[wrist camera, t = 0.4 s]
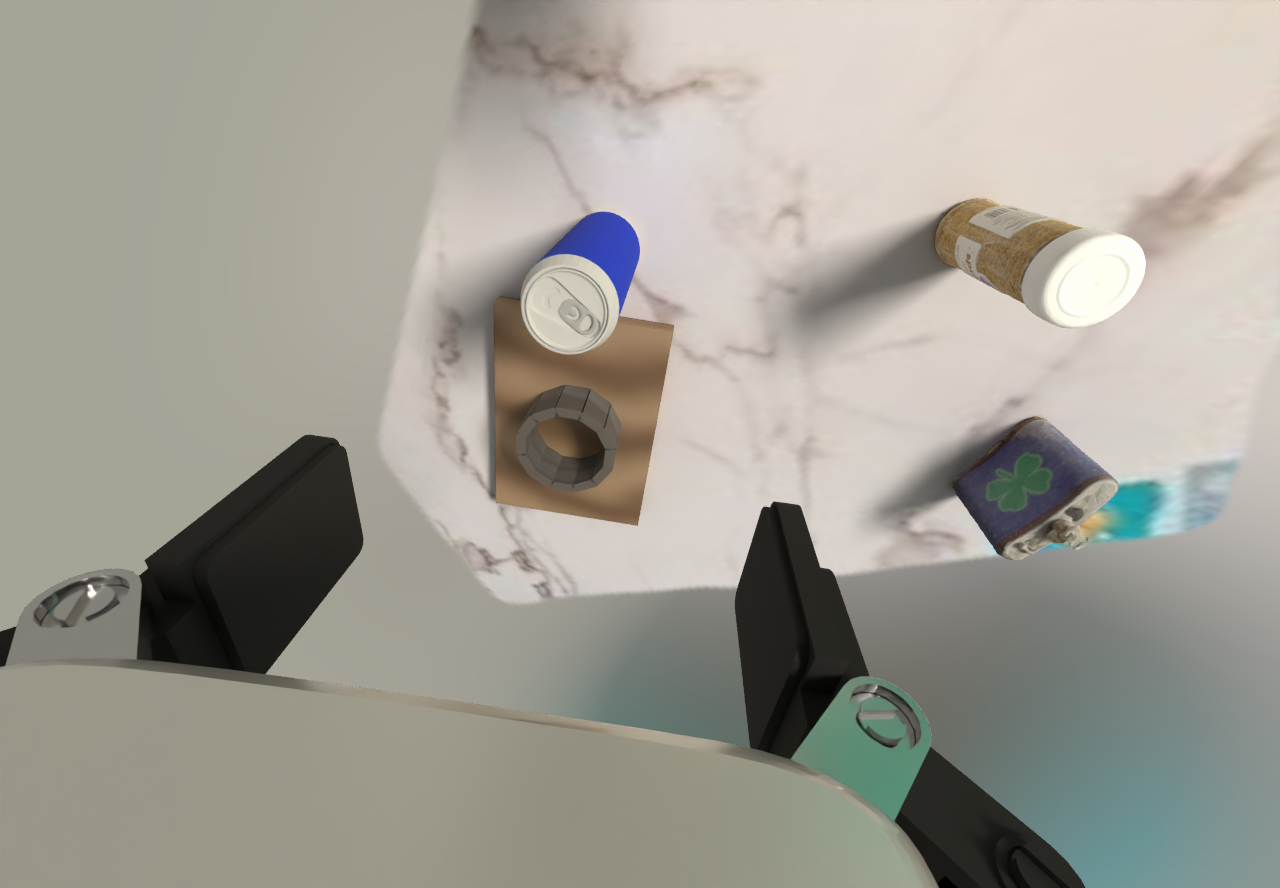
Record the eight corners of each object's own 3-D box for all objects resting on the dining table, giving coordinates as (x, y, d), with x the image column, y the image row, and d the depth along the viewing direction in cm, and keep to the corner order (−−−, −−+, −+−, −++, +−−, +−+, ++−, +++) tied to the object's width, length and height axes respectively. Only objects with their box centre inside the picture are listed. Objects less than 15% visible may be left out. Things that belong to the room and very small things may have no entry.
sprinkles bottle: (920, 258, 37) (1021, 319, 26) (953, 189, 35) (1080, 224, 24) (981, 272, 38) (1107, 339, 26) (1018, 204, 35) (1174, 247, 24)
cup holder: (499, 296, 41) (475, 319, 37) (673, 325, 42) (671, 351, 37) (500, 493, 52) (482, 530, 47) (638, 515, 52) (634, 554, 48)
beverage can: (558, 255, 39) (497, 321, 27) (596, 194, 37) (547, 235, 24) (614, 296, 41) (581, 377, 28) (654, 240, 38) (637, 302, 26)
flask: (1033, 410, 43) (1125, 489, 34) (1058, 427, 44) (1154, 509, 35) (944, 484, 48) (1004, 571, 39) (967, 499, 48) (1031, 588, 39)
